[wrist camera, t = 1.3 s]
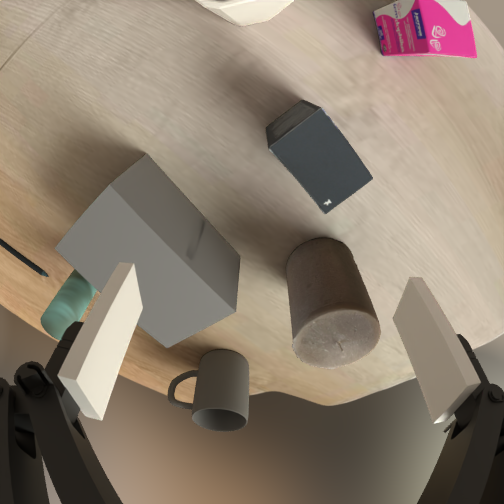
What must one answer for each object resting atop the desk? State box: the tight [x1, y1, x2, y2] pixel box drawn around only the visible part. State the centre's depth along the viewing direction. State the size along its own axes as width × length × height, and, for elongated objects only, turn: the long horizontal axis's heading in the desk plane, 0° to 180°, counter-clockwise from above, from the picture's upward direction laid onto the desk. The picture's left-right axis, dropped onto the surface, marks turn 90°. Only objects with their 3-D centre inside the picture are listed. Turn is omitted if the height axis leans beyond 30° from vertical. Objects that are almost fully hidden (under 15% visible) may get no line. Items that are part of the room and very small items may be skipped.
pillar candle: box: [286, 238, 381, 369], centre depth 36 cm, size 10×10×15 cm
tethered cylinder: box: [41, 269, 97, 340], centre depth 34 cm, size 6×17×14 cm, turn 127°
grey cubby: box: [55, 154, 240, 348], centre depth 35 cm, size 18×11×11 cm, turn 37°
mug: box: [168, 350, 249, 432], centre depth 49 cm, size 14×9×12 cm
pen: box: [0, 239, 49, 277], centre depth 42 cm, size 1×16×1 cm, turn 54°
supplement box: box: [373, 0, 477, 58], centre depth 20 cm, size 6×6×12 cm
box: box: [266, 100, 373, 214], centre depth 29 cm, size 8×6×11 cm
